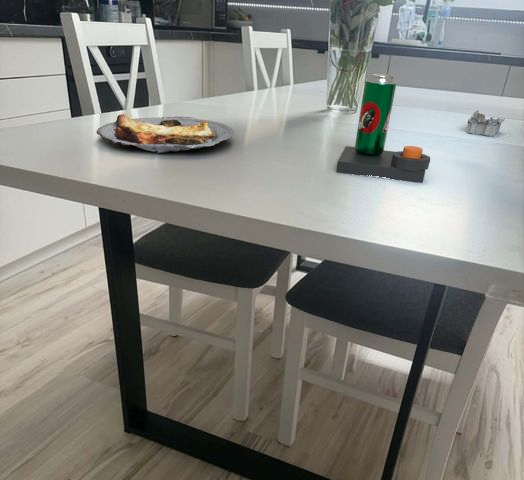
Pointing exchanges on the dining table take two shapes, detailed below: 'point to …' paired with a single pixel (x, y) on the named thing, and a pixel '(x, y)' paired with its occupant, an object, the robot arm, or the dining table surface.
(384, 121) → the soda can
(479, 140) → the dining table surface
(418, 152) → the tare button
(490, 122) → the egg carton
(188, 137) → the food plate
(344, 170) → the dark grey flat block
